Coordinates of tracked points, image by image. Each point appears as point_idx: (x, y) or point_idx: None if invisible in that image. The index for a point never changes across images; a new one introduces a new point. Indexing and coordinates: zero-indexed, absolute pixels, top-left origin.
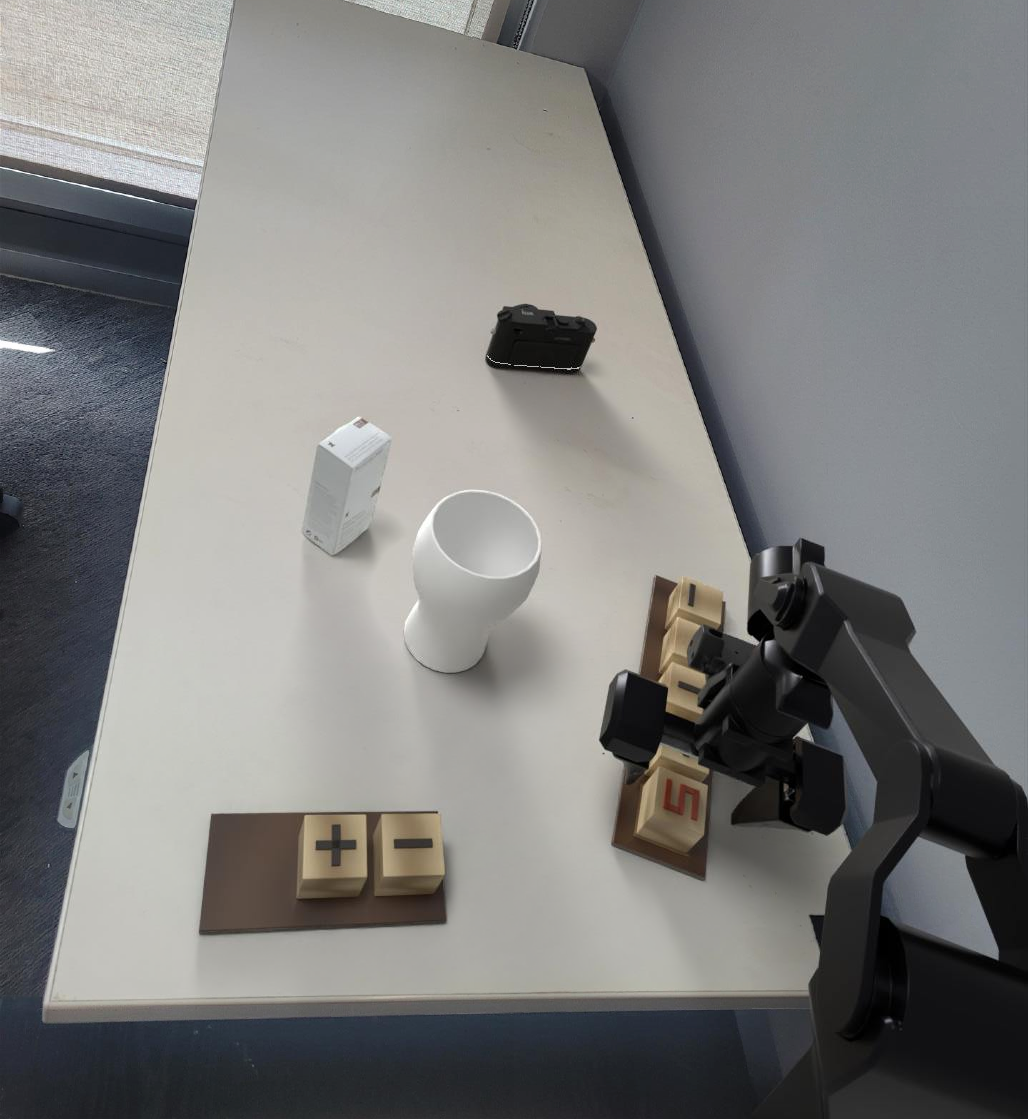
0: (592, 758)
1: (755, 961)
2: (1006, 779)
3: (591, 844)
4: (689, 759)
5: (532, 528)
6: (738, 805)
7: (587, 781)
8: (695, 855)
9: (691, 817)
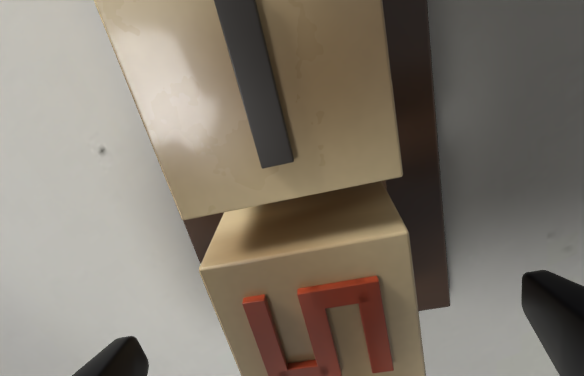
0: (89, 181)
1: None
2: None
3: (200, 343)
4: (299, 167)
5: None
6: (566, 317)
7: (117, 240)
8: (417, 277)
9: (372, 370)
